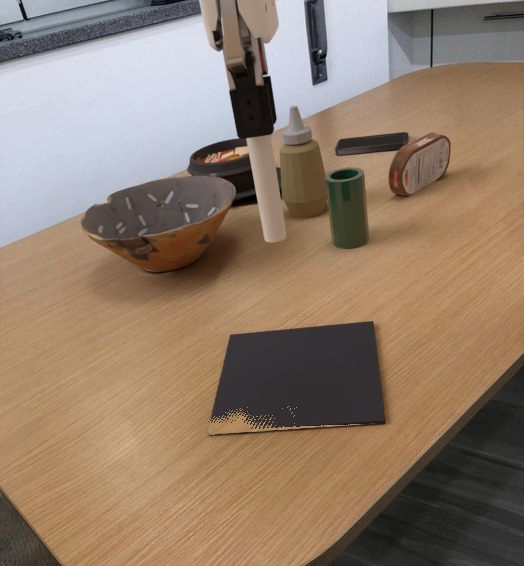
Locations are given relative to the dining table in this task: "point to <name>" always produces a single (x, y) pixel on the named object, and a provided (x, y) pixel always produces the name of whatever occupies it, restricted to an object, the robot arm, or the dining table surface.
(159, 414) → the dining table surface
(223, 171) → the casserole
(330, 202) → the pen holder
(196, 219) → the bowl
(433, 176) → the tin
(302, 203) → the squeeze bottle
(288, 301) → the dining table surface
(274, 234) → the rod
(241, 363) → the mat
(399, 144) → the phone
